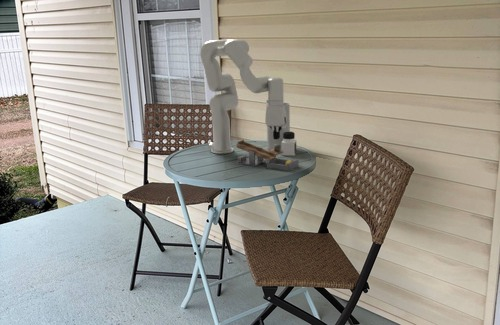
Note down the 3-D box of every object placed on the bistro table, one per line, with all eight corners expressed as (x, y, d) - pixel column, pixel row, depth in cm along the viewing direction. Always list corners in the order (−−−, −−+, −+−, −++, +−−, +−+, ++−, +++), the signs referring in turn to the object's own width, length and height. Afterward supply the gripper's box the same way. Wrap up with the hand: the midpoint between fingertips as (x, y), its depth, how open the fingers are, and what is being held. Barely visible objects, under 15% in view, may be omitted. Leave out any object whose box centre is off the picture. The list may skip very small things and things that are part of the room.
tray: (266, 167, 248) (266, 161, 247) (276, 163, 256) (276, 156, 255) (288, 171, 241) (288, 164, 240) (298, 166, 249) (298, 159, 248)
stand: (235, 163, 258) (234, 149, 256) (245, 159, 265) (244, 145, 263) (255, 166, 252) (255, 152, 250) (265, 161, 259) (264, 148, 257)
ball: (291, 163, 243) (289, 169, 245) (295, 161, 246) (292, 167, 247) (285, 159, 244) (283, 165, 246) (289, 158, 247) (286, 164, 249)
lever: (236, 147, 257) (237, 140, 256) (252, 141, 270) (254, 134, 268) (269, 160, 248) (270, 153, 247) (285, 153, 261) (286, 146, 259)
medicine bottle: (294, 155, 269) (294, 133, 266) (281, 155, 270) (281, 133, 267) (296, 152, 275) (296, 130, 272) (283, 152, 277) (283, 130, 274)
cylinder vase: (294, 147, 286) (294, 103, 279) (280, 152, 277) (279, 106, 270) (276, 145, 294) (276, 101, 287) (262, 149, 285) (261, 104, 278)
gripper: (259, 103, 255) (260, 139, 260) (285, 105, 247) (285, 141, 252) (267, 101, 261) (267, 136, 266) (292, 102, 253) (293, 138, 258)
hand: (276, 138), depth 259 cm, fingers closed
